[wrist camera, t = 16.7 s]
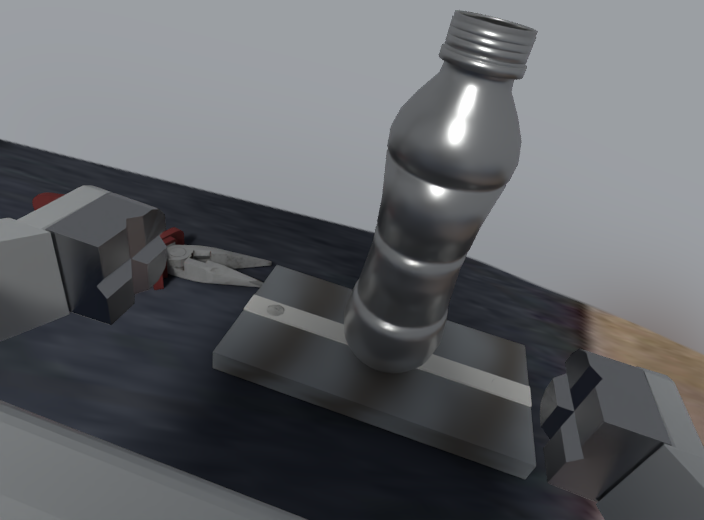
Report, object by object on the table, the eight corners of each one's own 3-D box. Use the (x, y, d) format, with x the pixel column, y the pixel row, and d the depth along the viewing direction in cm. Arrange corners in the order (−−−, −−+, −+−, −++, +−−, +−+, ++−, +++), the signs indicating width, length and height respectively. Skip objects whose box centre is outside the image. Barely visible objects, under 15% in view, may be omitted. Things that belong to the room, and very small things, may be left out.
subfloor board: (212, 368, 28) (212, 350, 27) (275, 279, 36) (277, 263, 35) (525, 479, 26) (537, 464, 25) (516, 359, 34) (525, 344, 33)
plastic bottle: (442, 339, 32) (578, 37, 20) (410, 406, 26) (568, 48, 15) (363, 301, 33) (446, 1, 22) (318, 356, 28) (396, 1, 17)
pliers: (255, 336, 31) (258, 309, 30) (-52, 297, 29) (-66, 265, 28) (277, 246, 41) (279, 222, 39) (45, 211, 38) (39, 184, 37)
